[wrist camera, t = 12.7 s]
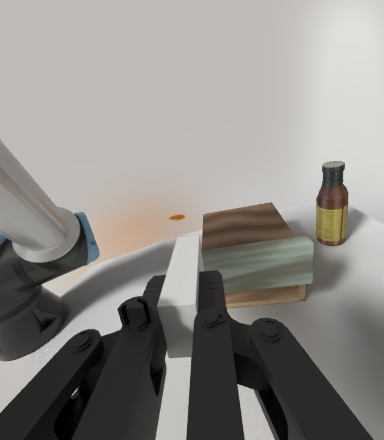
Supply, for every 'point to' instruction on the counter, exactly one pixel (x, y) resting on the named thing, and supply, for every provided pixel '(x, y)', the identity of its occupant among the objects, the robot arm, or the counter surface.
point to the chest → (266, 296)
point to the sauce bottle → (332, 205)
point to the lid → (255, 249)
